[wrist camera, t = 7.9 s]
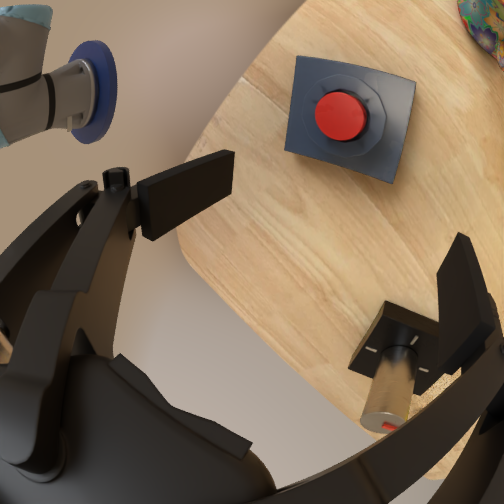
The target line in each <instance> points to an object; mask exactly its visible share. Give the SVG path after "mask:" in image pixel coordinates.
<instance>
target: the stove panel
mask: <svg viewBox="0 0 504 504" xmlns="http://www.w3.org/2000/svg"><path fill="white" fill-rule="evenodd" d="M394 346H403V347H407V348H410V349H411V350H413V351H414V352H415V353H416V354H417V357H418V363H417V371H416V377H415V383H414V389H413V394H416V395H419V396H421V395H422V394H423V393H424V392H425V391H426V390H427V389H428V388H430V387H431V386H432V385H433V384H434V383H435V382H436V381H437V380H438V379H439V378H440V377H441V376H442V375H443V374H444V372H441V371H438V370H437V368H438V350H439V323H438V322H436V321H434V320H431V319H429V318H426V317H424V316H422V315H419V314H417V313H414V312H412V311H410V310H407V309H405V308H402V307H400V306H398V305H395V304H393V303H390V302H388V301H385V302H384V304H383V306H382V307H381V309H380V311H379V313H378V315H377V316H376V318H375V320H374V321H373V323H372V325H371V327H370V328H369V330H368V332H367V333H366V335H365V336H364V338H363V340H362V341H361V343H360V344H359V346H358V348H357V349H356V351H355V352H354V354H353V355H352V358H351V361H350V363H349V366H348V369H350V370H352V371H355V372H357V373H360V374H362V375H365V376H367V377H370V378H372V379H373V378H374V375H375V371H376V368H377V364H378V360H379V357H380V354H381V353H382V352H383V351H384V350H386V349H387V348H390V347H394Z"/></svg>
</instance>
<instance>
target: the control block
mask: <svg viewBox="0 0 504 504" xmlns="http://www.w3.org/2000/svg"><path fill="white" fill-rule="evenodd" d="M415 87H416V82H415V81H412V80H409V79H406V78H403V77H399V76H396V75H393V74H389V73H386V72H382V71H379V70H375V69H371V68H367V67H362V66H358V65H353V64H349V63H344V62H338V61H333V60H327V59H321V58H314V57H306V56H297V58H296V66H295V74H294V82H293V90H292V97H291V105H290V112H289V120H288V127H287V134H286V141H285V148H284V150H285V151H288V152H292V153H296V154H300V155H304V156H307V157H311V158H314V159H318V160H321V161H325V162H328V163H331V164H335V165H338V166H341V167H344V168H347V169H350V170H353V171H357V172H359V173H362V174H365V175H368V176H371V177H374V178H377V179H379V180H382V181H385V182H388V183H390V184H393V181H394V178H395V175H396V171H397V167H398V164H399V160H400V156H401V153H402V149H403V145H404V141H405V137H406V132H407V128H408V123H409V119H410V114H411V109H412V104H413V99H414V93H415ZM333 92H342V93H346V94H349V95H352V96H354V97H355V98H357V99H358V100H359V101H360V102H361V103H362V105H363V106H364V108H365V111H366V115H367V120H366V125H365V127H364V129H363V130H362V132H361V133H359V134H358V135H357V136H355V137H353V138H351V139H348V140H335V139H332V138H330V137H328V136H326V135H325V134H324V133H323V132H322V131H321V130H320V128H319V127H318V125H317V123H316V119H315V109H316V106H317V104H318V102H319V101H320V99H321V98H322V97H324V96H325V95H327V94H329V93H333Z"/></svg>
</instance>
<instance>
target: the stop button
mask: <svg viewBox="0 0 504 504" xmlns="http://www.w3.org/2000/svg"><path fill="white" fill-rule="evenodd" d="M315 119H316V123H317V125H318V127H319V128H320V130H321V131H322V132H323V133H324V134H325V135H326V136H328V137H330V138H332V139H335V140H348V139H351V138H353V137H355V136H357V135H358V134H359V133H361V132H362V130H363V129H364V127H365V125H366V120H367V115H366V111H365V108H364V106H363V105H362V103H361V102H360V101H359V100H358V99H357V98H355V97H354V96H352V95H349V94H346V93H342V92H333V93H329V94H327V95H325V96H324V97H322V98H321V99H320V101H319V102H318V104H317V106H316V109H315Z"/></svg>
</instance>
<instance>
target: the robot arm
mask: <svg viewBox="0 0 504 504" xmlns="http://www.w3.org/2000/svg"><path fill="white" fill-rule="evenodd" d="M52 14H53V10H52V8H51V7H50V6H47V5H34V4H33V5H15V6H7V7H1V8H0V148H3V147H6V146H10V145H11V144H13V143H15V142H17V141H20V140H22V139H25V138H27V137H30V136H32V135H35V134H37V133H40V132H43V131H45V130H48V129H52V128H66V129H67V131H68V132H69V131H72V129H79V128H83V127H86V126H88V125H89V124H90V123H91V122H92V120H93V118H94V116H95V113H96V110H97V106H98V100H99V80H98V75H97V71H96V68H95V66H94V64H93V63H92V61H91V60H89V59H86V58H84V59H77V60H74V61H72V62H70V63H68V64H66V65H64V66H62V67H60V68H58V69H57V70H54V71H53V72H51V73H47V74H43V75H41V74H42V66H43V60H44V54H45V48H46V43H47V39H48V34H49V31H50V28H51V27H50V23H51V19H52ZM234 157H235V152H233V151H229V150H225V149H224V150H221V151H218V152H215V153H212V154H209V155H206V156H203V157H200V158H197V159H194V160H192V161H189V162H186V163H184V164H181V165H178V166H176V167H173V168H171V169H168V170H165V171H163V172H161V173H158V174H155V175H153V176H151V177H149V178H146V179H144V180H141V181H139V182H137V184H136V185H134V186H132V187H130V175H129V169H128V168H126V167H116V168H111V169H109V170H106V171H104V172H103V173H102V174H103V182H104V191H99V190H98V184H97V182H96V181H92V180H91V181H89V180H86V181H83V182H81V183H79V184H77V185H76V186H75V187H74V188H72V189H71V190H70V191H68V192H67V193H66V194H65V195H63V196H62V197H61V198H60V199H58V200H57V201H56V202H55V203H54V204H53V205H51V206H50V207H49V208H48V209H47V210H46V211H45V212H43V214H41V215H40V216H39V217H38V218H37V219H36V220H35V221H34V222H32V223H31V224H30V225H29V226H28V227H27V228H26V229H25V230H24V231H23V232H22V233H21V234H20V235H19V236H18V237H17V238H16V239H15V240H14V241H13V242H12V243H11V244H10V245H9V247H7V249H5V251H4V252H3V253H2V254H1V255H0V504H388V503H389V502H390V501H392V500H393V499H394V498H396V497H397V496H398V495H400V494H401V493H402V492H404V491H405V490H406V489H407V488H409V487H410V486H411V485H412V484H414V483H415V482H416V481H417V480H418V479H420V478H421V477H422V476H423V475H424V474H425V473H427V472H428V471H429V470H430V469H431V468H432V467H433V466H434V465H435V464H436V463H437V462H439V461H440V460H441V459H442V458H443V457H444V456H445V455H446V454H447V453H448V452H449V451H450V450H451V449H452V448H453V446H454V445H455V444H456V443H457V442H458V441H459V440H460V439H461V438H462V437H463V436H464V434H465V433H466V432H467V431H468V430H469V429H470V428H471V426H472V425H473V424H474V423H475V422H476V420H477V419H478V418H479V417H480V418H479V420H478V422H477V424H476V426H475V428H474V430H473V432H472V434H471V436H470V438H469V440H468V442H467V444H466V446H465V448H464V449H463V451H462V453H461V455H460V456H459V458H458V460H457V461H456V463H455V465H454V466H453V468H452V469H451V471H450V472H449V474H448V476H447V477H446V479H445V480H444V482H443V483H442V484H441V486H440V487H439V489H438V490H437V491H436V493H435V494H434V495H433V497H432V498H431V499H430V501H429V502H428V503H427V504H504V337H503V334H502V329H501V324H500V320H499V315H498V312H497V307H496V303H495V301H494V299H493V298H492V296H491V294H490V293H488V291H487V288H486V284H485V281H484V278H483V274H482V271H481V268H480V265H479V262H478V259H477V256H476V254H475V251H474V248H473V246H472V243H471V240H470V238H469V237H468V236H466V235H464V234H462V233H460V232H458V233H457V235H456V237H455V239H454V241H453V243H452V245H451V247H450V249H449V251H448V253H447V255H446V257H445V259H444V261H443V263H442V265H441V266H440V268H439V270H438V272H437V287H438V305H439V350H438V368H437V370H438V371H441V372H444V373H446V374H449V375H453V374H454V373H455V372H456V371H457V370H458V369H459V368H460V367H461V376H460V377H458V378H457V379H456V380H455V381H454V382H453V383H452V384H451V385H450V386H448V387H447V388H446V389H445V390H444V391H443V392H442V393H441V394H440V395H439V396H438V397H436V398H435V399H434V400H433V401H432V402H430V403H429V404H428V405H427V406H426V407H424V408H423V409H422V410H421V411H419V412H418V413H417V414H415V415H414V416H413V417H411V418H410V419H409V420H407V421H406V422H405V423H403V424H402V425H401V426H399V427H398V428H396V429H395V430H393V431H392V432H390V433H389V434H387V435H386V436H384V437H383V438H381V439H380V440H378V441H377V442H375V443H373V444H372V445H370V446H369V447H367V448H365V449H364V450H362V451H360V452H358V453H357V454H355V455H353V456H351V457H350V458H348V459H346V460H344V461H342V462H340V463H338V464H336V465H334V466H332V467H330V468H328V469H326V470H324V471H322V472H320V473H317V474H315V475H313V476H311V477H308V478H306V479H303V480H301V481H298V482H295V483H293V484H290V485H288V486H285V487H283V488H280V489H276V486H275V483H274V480H273V478H272V476H271V474H270V472H269V471H268V469H267V468H266V466H265V465H264V463H263V462H262V461H261V460H260V459H259V458H258V457H257V456H256V455H255V454H254V453H253V452H252V451H251V450H250V447H251V445H252V442H251V441H249V440H247V439H245V438H243V437H241V436H239V435H237V434H236V433H234V432H232V431H230V430H228V429H226V428H225V427H223V426H221V425H220V424H218V423H216V422H215V421H212V420H208V419H205V418H202V417H199V416H196V415H194V414H191V413H188V412H185V411H183V410H180V409H178V408H175V407H173V406H171V405H170V404H169V403H168V402H167V401H166V399H165V398H164V397H163V396H162V394H161V393H160V392H159V391H158V389H157V388H156V387H155V385H154V384H153V383H152V382H151V380H150V379H149V378H148V376H147V375H146V374H145V373H144V372H142V371H141V370H140V369H139V368H137V367H136V366H135V365H134V364H132V363H131V362H130V361H129V360H128V359H126V358H125V357H124V356H123V355H122V354H121V353H120V354H119V355H117V356H116V357H115V358H114V357H113V341H114V335H115V329H116V323H117V317H118V312H119V306H120V301H121V296H122V292H123V287H124V282H125V278H126V273H127V269H128V265H129V261H130V257H131V253H132V249H133V245H134V242H135V238H136V229H135V228H137V227H138V226H140V225H141V229H142V236H144V237H145V238H147V239H149V240H151V241H155V240H156V239H158V238H159V237H161V236H162V235H164V234H166V233H167V232H169V231H170V230H172V229H174V228H175V227H177V226H178V225H180V224H182V223H183V222H185V221H186V220H188V219H190V218H191V217H193V216H195V215H196V214H198V213H200V212H201V211H203V210H205V209H206V208H208V207H210V206H211V205H213V204H215V203H216V202H218V201H220V200H221V199H223V198H225V197H227V196H228V195H230V194H231V192H232V180H233V168H234ZM78 213H79V217H80V222H81V224H80V225H79V226H78V225H77V222H76V216H77V214H78ZM480 415H481V416H480Z"/></svg>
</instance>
